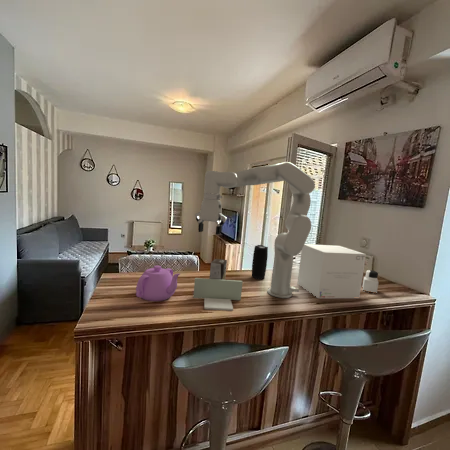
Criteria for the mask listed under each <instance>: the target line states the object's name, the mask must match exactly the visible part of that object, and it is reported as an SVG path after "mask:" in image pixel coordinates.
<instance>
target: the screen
mask: <svg viewBox="0 0 450 450" xmlns="http://www.w3.org/2000/svg"><path fill="white" fill-rule="evenodd" d="M243 282H244V281H243V280H235V279H225V280H220V279H209V278H205V277H204V278H203V277H202V278H201V277H195V278H194V284H193V285H194V286H193V294H192V296H193V297H192V298H194V299H204V298H215V299H231V301H241V300H242V292H243V291H242V290H243Z"/></svg>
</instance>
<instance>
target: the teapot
mask: <svg viewBox="0 0 450 450" xmlns="http://www.w3.org/2000/svg"><path fill="white" fill-rule="evenodd" d="M180 275H181V273H174V270H173V269H172V268H169V267H167V268H162V266H161V265H158V264H157V265H154V266H153V267H151V268H150V267H149V268H147V269H146V270H145V271H144V272H143V273H142V274H141V276H140V277H139V279H138V280H137V284H136V287H135V292H136V293H135V296H136V297H137V298H141V299H142V300H145V301H148V302H149V301H150V302H161V301H164V300H165V301H166V300H167V299H170V298H171V297H173V295H174V294H175V293H176V291H177V288H178V277H179V276H180Z"/></svg>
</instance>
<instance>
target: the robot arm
mask: <svg viewBox="0 0 450 450" xmlns="http://www.w3.org/2000/svg"><path fill="white" fill-rule="evenodd" d="M204 174H205V176H204V187H203V189H204V190H203V199H202V201H201V204H200V210H199V211H198V212H196V213H194V217H195V220H196V222H197V224H198V233H202V232H204V222H205V221H206V222H212V223H214V222H215V224H216V227H215V235H217V236H218V235H220V234H221V231H222V226H223V225H224V224H225V223H226V221H227V219H228V218H227V217H226V216H225V215H224V214H223V209H222V208H223V207H222V201H221V200H222V198H223V196H222V195H221V187H222V188H224V189H232V188H236V187H237V188H238V187H245V186H258V185H259V186H260V185H265V184H273V183H278V182H285V183H287V184H288V186H289V191H290V192H291V194H292V197H293V199H292V201H293V202H292V205H291V207H290V210H289V211H288V214H287V216H286V218H285V221H284V227H285V229H287V231H288V232H281V233H279V234H278V235H277V236H276V237H275V239H274V245H273V246H274V248H273V249H274V257H273V265H272V273H271V274H272V275H271V283H270V287H269V288H267V290H266V291H267V293H268V295H270V296H272V297H276V298H281V299H289V298H292V297H293V292H295V293H299V292H300V289H299V288H300V287H295V286H291V281H292V273H293V265H294V256H295V257H296V256H298V255H299V254H301V251H302V249H303V247H304V244H306V241H307V239H308V237H309V236H310V232H311V230H312V221H311V219H310V218H309V216H308V214H309V210H310V208H311V203H312V201H311V200H312V199H311V196H310V194H311V193H312V192H313V191H314V190H315V186H316V184H315V183H316V182H315V181H314V179H313V177H311V176H310V175H308V174H307V173H306V172H304V171H303V170H302V169H300V168H299V167H298V166H296V165H295V164H294V163H292V162H290V161H289V162H288V161H284V162H281V163H274V164H268V165H263V166H262V165H261V166H255V167H251V168H248V169H244V170H239V171H215V170H206V172H205V173H204Z"/></svg>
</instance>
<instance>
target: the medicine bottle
mask: <svg viewBox="0 0 450 450" xmlns="http://www.w3.org/2000/svg"><path fill="white" fill-rule="evenodd" d="M378 276H379V272H377V271H376V270H373V269H372V270H370V269H368V270H366V272H365V276H363V278H362V285H361V288H362V287H363V289H362V291H363V290H366V291H371V292H376V293H377V294H378V289H379V279H378V278H379V277H378Z"/></svg>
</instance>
